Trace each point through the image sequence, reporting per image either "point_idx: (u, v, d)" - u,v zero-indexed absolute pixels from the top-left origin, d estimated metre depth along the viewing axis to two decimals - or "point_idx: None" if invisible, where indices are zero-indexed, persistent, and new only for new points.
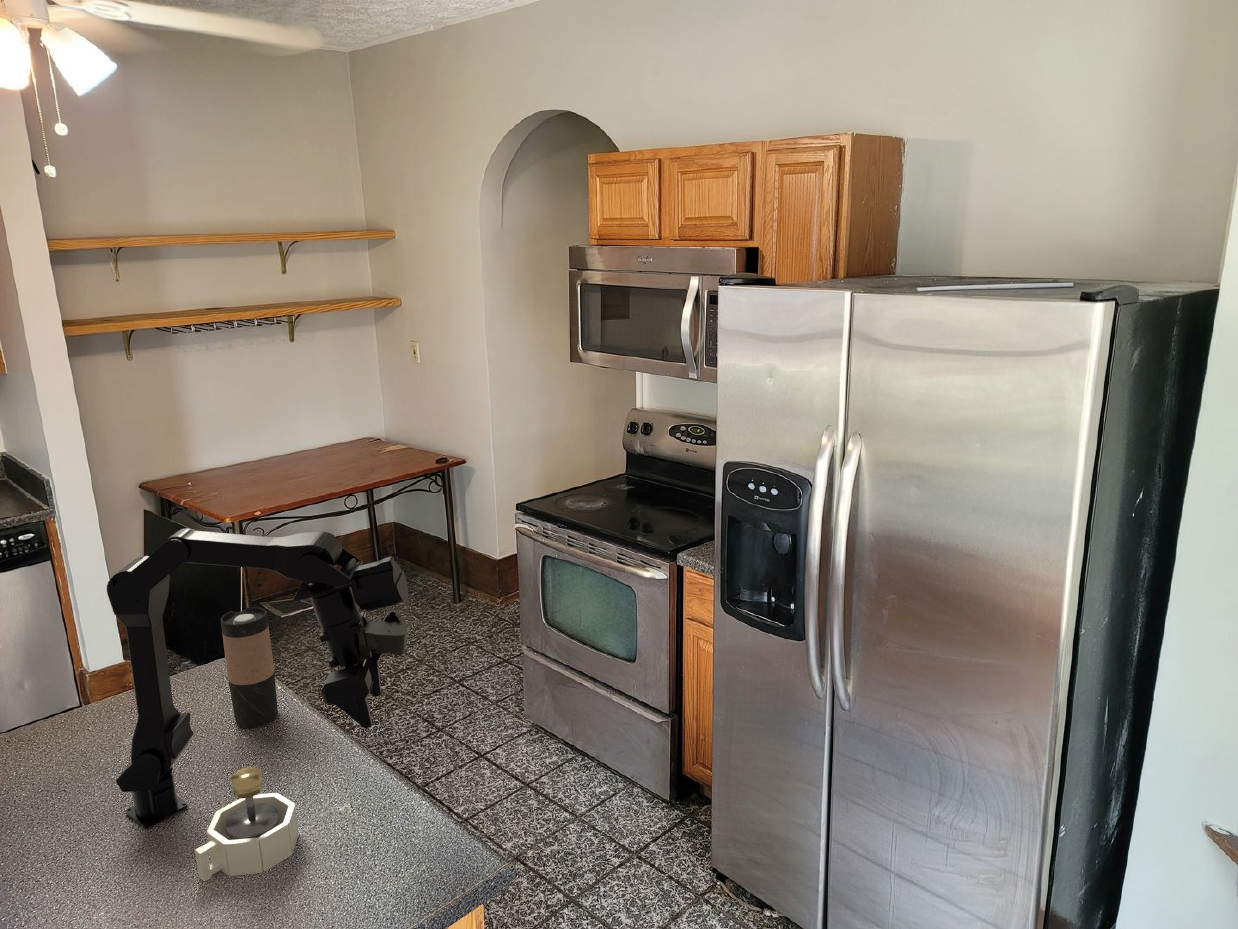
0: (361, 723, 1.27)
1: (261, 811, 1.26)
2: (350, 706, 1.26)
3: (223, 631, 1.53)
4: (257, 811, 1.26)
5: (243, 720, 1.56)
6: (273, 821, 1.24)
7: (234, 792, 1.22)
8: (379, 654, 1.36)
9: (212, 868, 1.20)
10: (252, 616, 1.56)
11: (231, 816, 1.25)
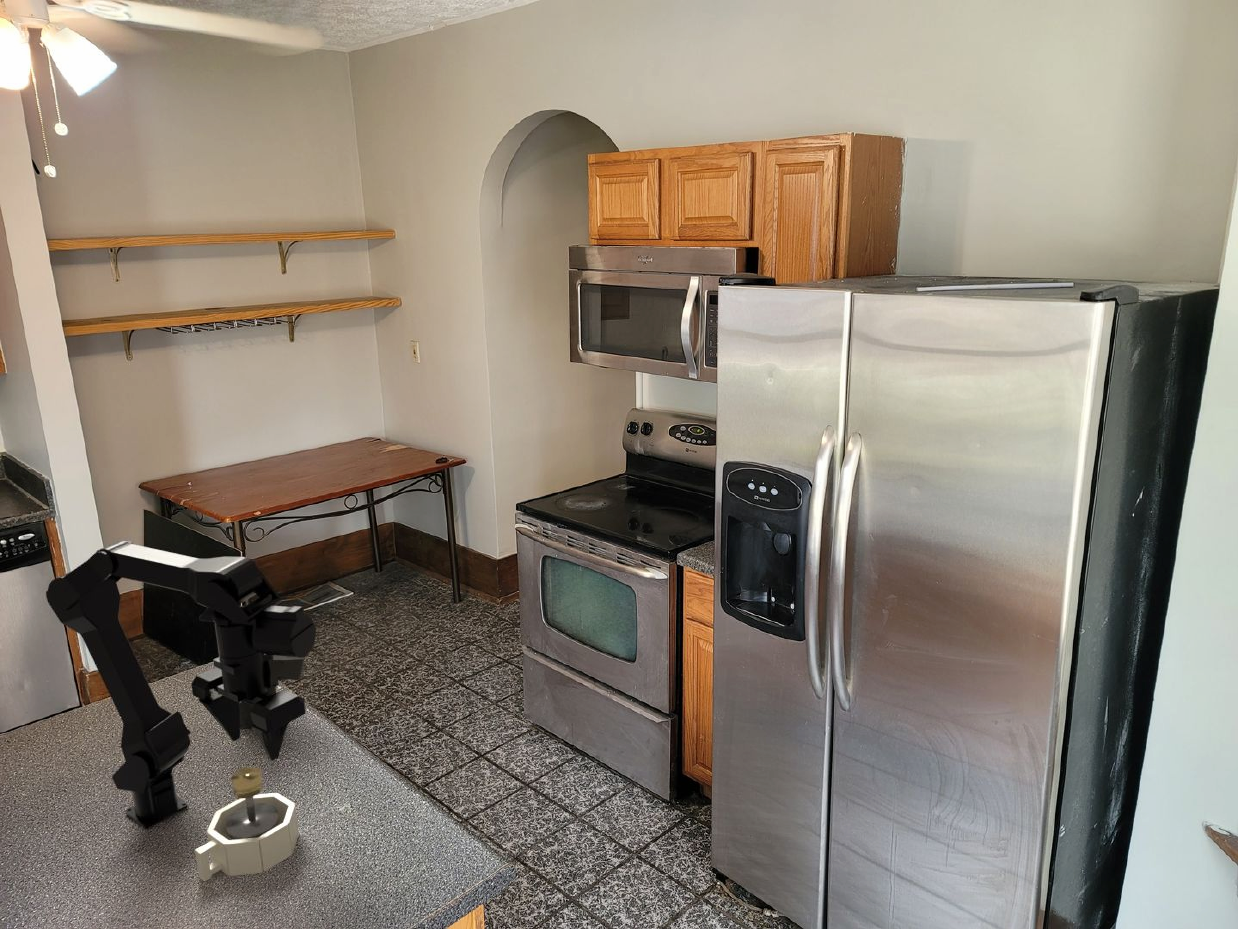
0: (272, 755, 1.23)
1: (261, 811, 1.26)
2: (270, 736, 1.22)
3: None
4: (257, 811, 1.26)
5: (243, 720, 1.56)
6: (273, 821, 1.24)
7: (234, 792, 1.22)
8: None
9: (212, 868, 1.20)
10: None
11: (231, 816, 1.25)
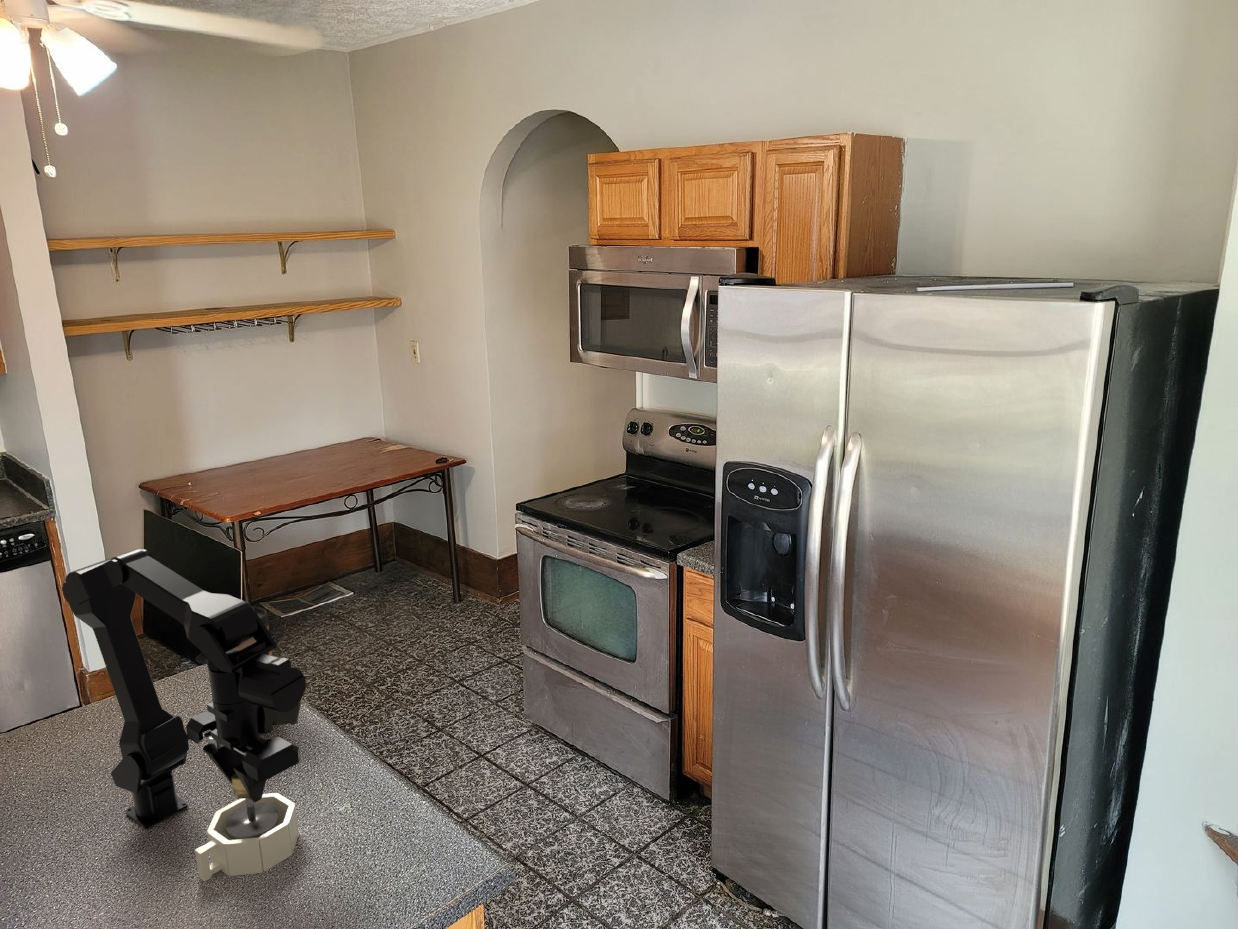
0: (254, 796, 1.22)
1: (261, 812, 1.26)
2: (252, 778, 1.20)
3: None
4: (257, 811, 1.26)
5: None
6: (273, 821, 1.24)
7: (234, 792, 1.22)
8: None
9: (212, 868, 1.20)
10: None
11: (231, 816, 1.25)
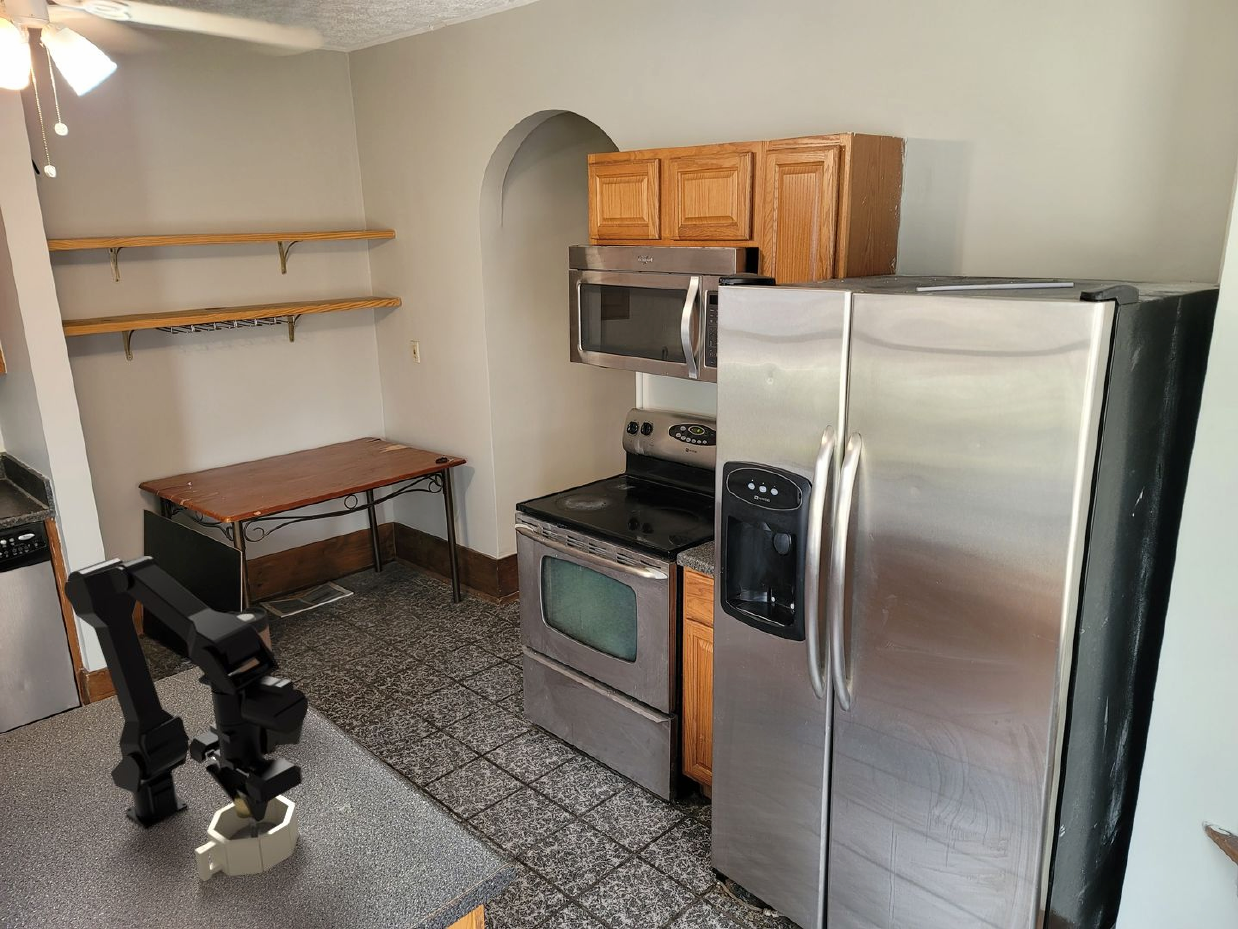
0: (257, 816, 1.22)
1: (263, 831, 1.27)
2: (255, 798, 1.21)
3: None
4: (260, 830, 1.27)
5: None
6: None
7: (237, 812, 1.23)
8: None
9: (212, 868, 1.20)
10: (252, 616, 1.56)
11: (234, 835, 1.26)
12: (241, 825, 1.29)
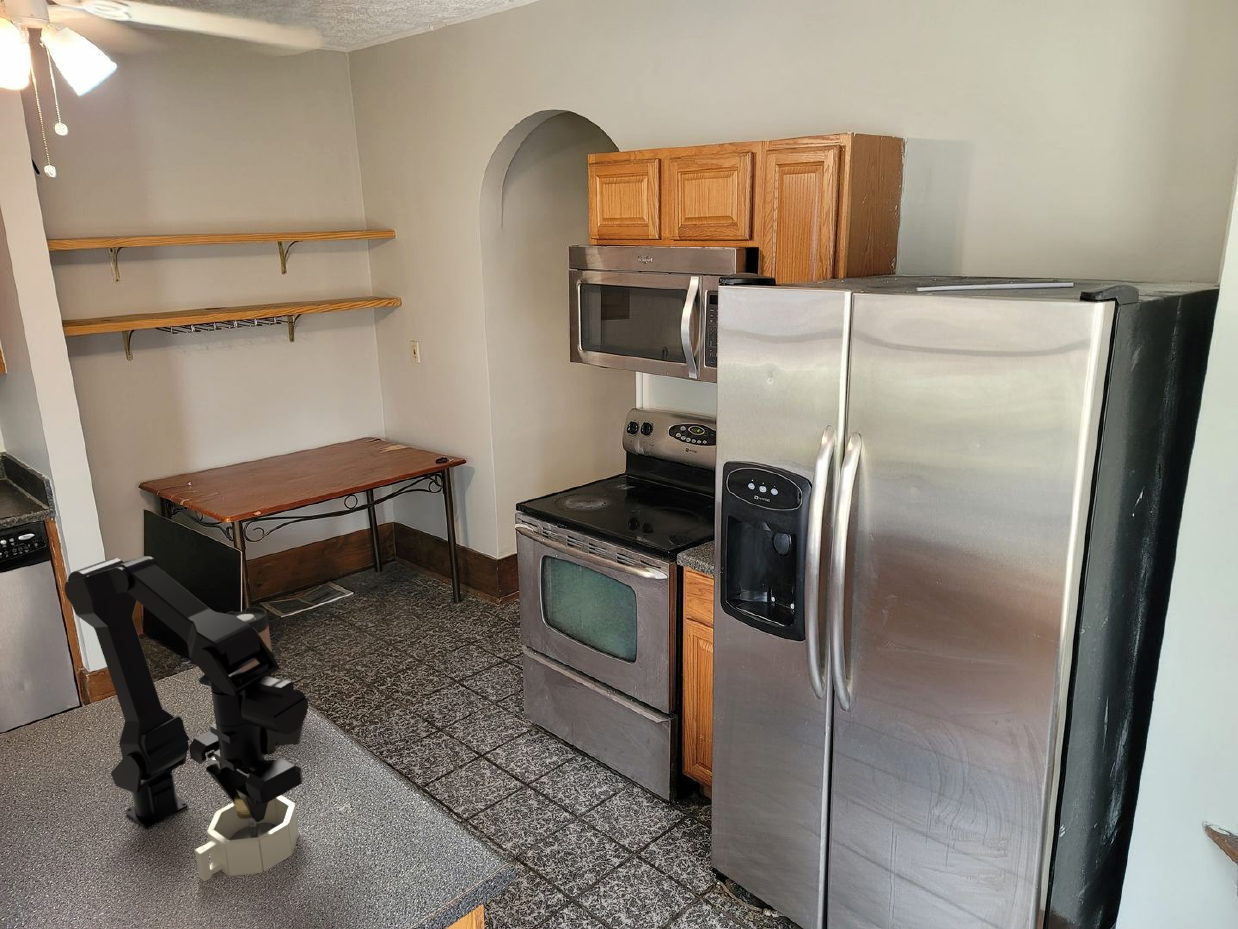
0: (257, 817, 1.22)
1: (263, 831, 1.27)
2: (255, 799, 1.21)
3: None
4: (260, 831, 1.27)
5: None
6: None
7: (237, 812, 1.23)
8: None
9: (212, 868, 1.20)
10: (252, 616, 1.56)
11: (234, 836, 1.26)
12: (241, 825, 1.29)
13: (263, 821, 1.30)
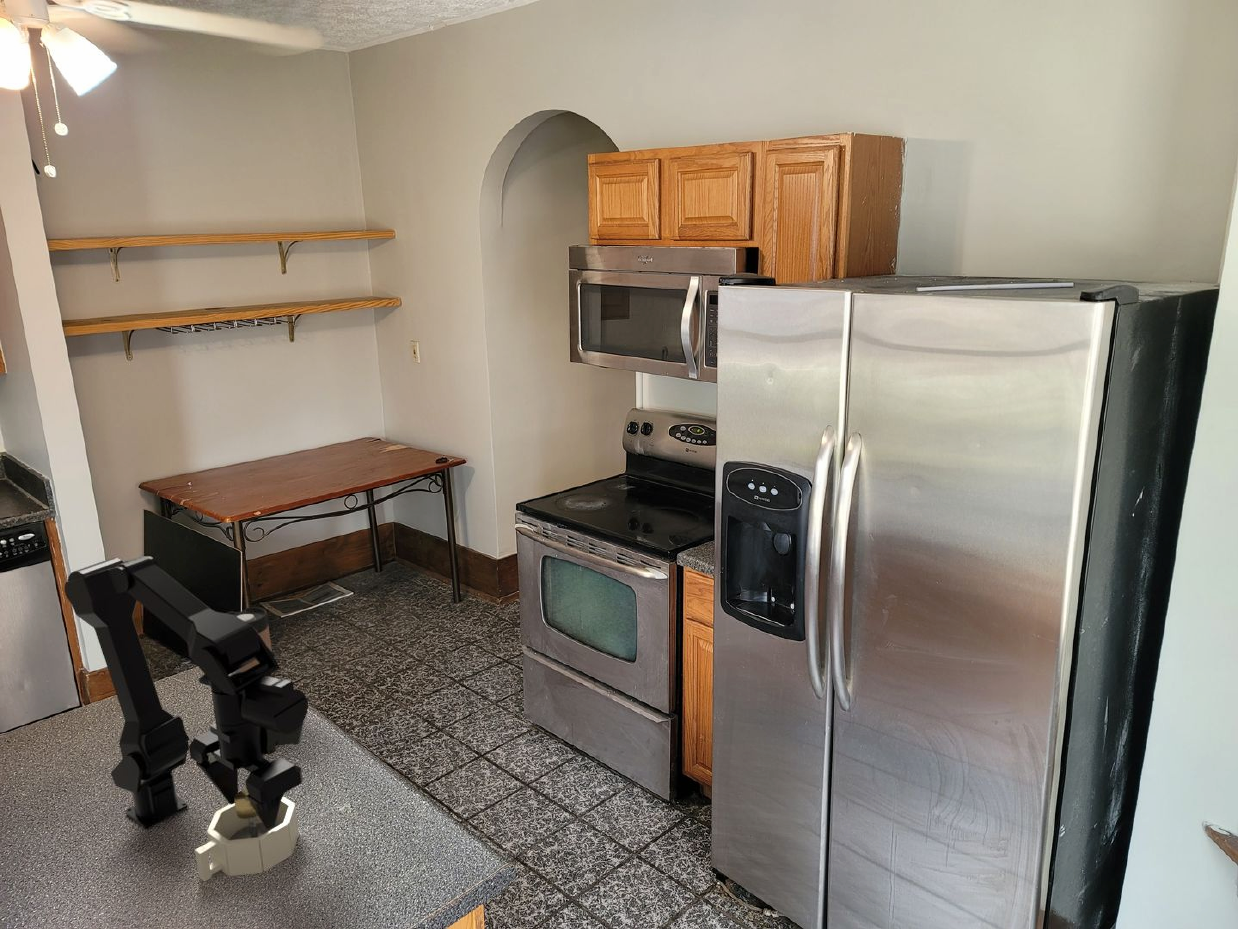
0: (267, 823, 1.21)
1: (263, 831, 1.27)
2: (266, 805, 1.19)
3: None
4: (260, 831, 1.27)
5: None
6: None
7: (237, 812, 1.23)
8: None
9: (212, 868, 1.20)
10: (252, 616, 1.56)
11: (234, 836, 1.26)
12: (241, 825, 1.29)
13: None
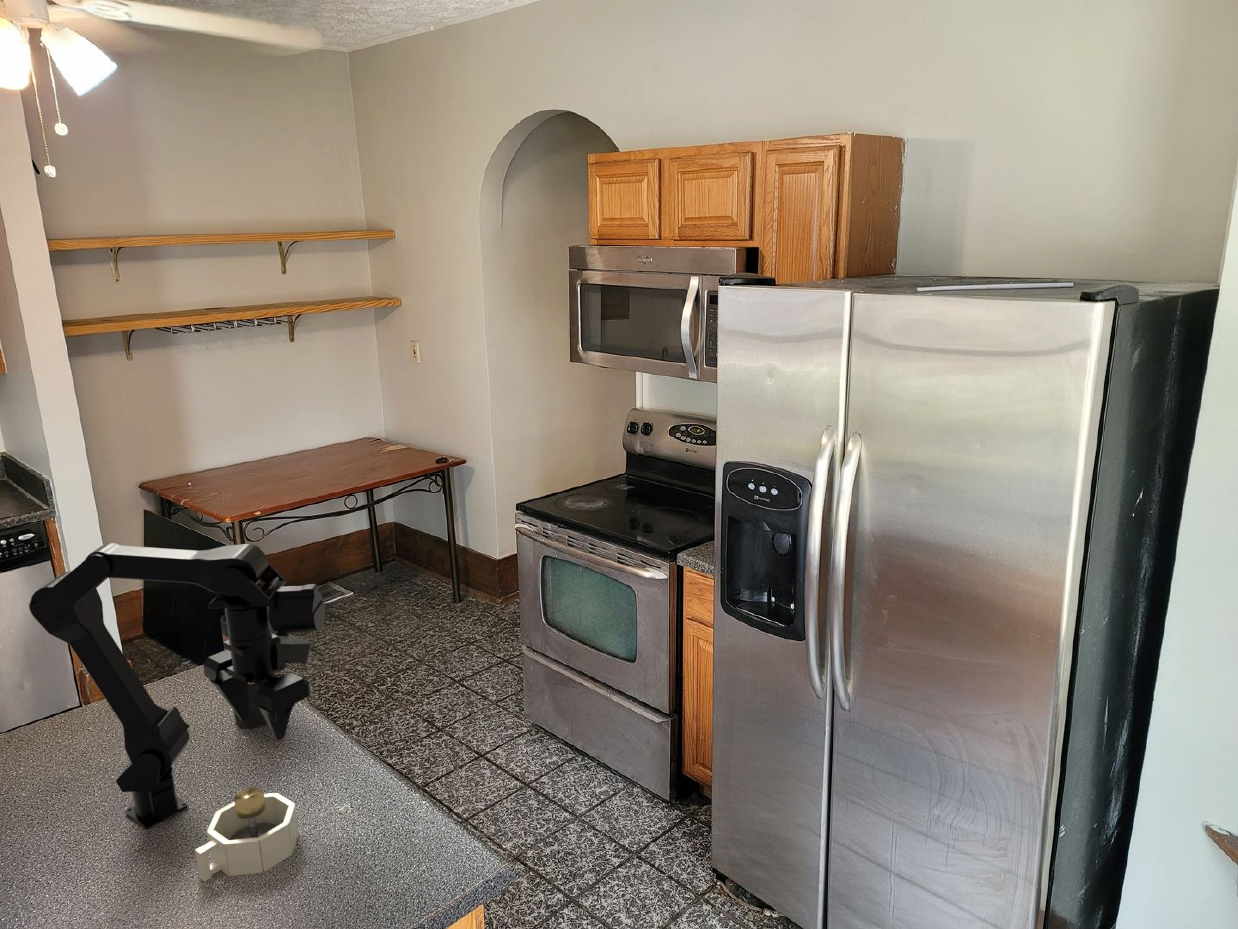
0: (278, 735, 1.29)
1: (263, 831, 1.27)
2: (276, 716, 1.27)
3: (223, 631, 1.53)
4: (260, 831, 1.27)
5: None
6: None
7: (237, 812, 1.23)
8: None
9: (212, 868, 1.20)
10: None
11: (234, 836, 1.26)
12: (241, 825, 1.29)
13: (263, 821, 1.30)
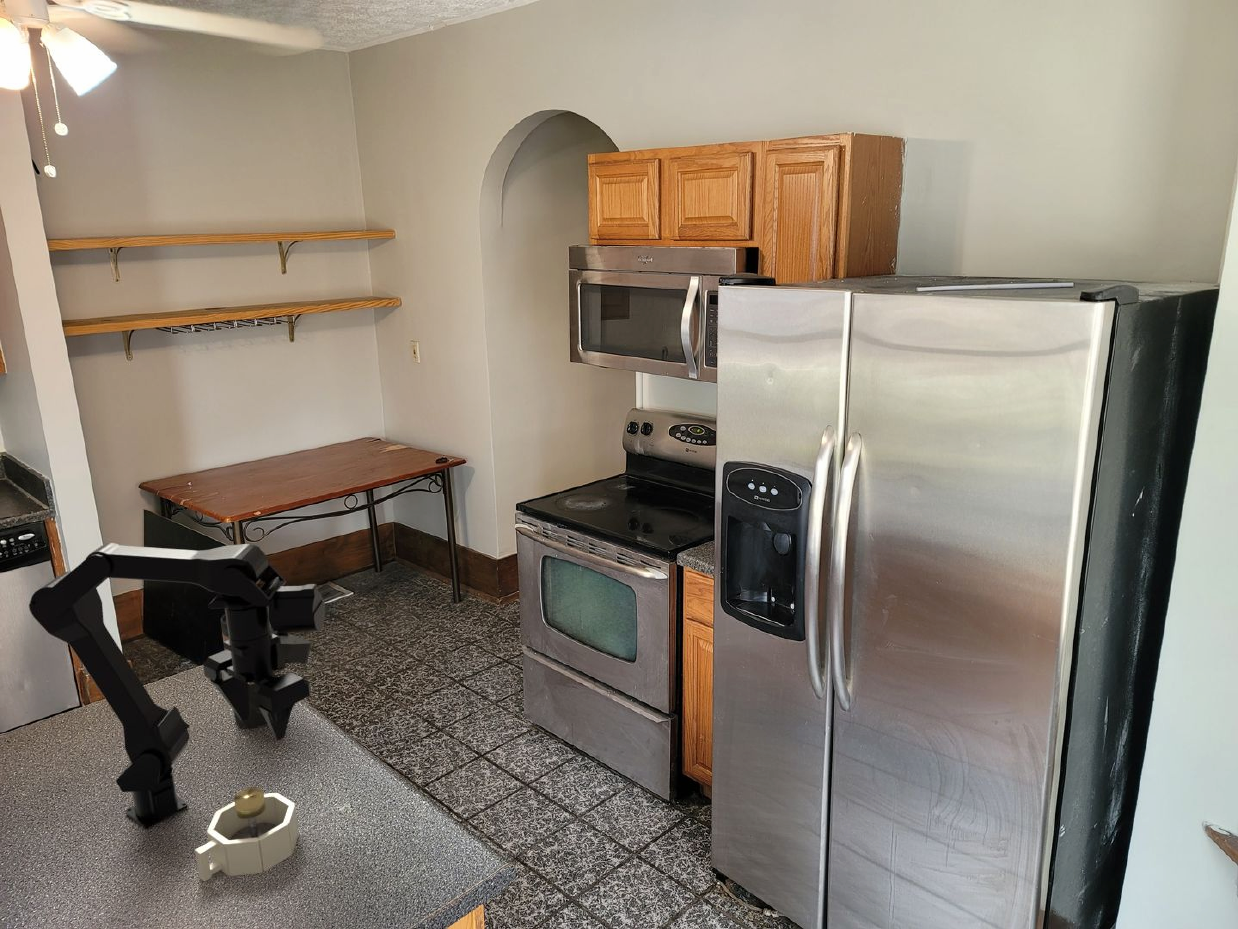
0: (278, 735, 1.29)
1: (263, 831, 1.27)
2: (276, 716, 1.27)
3: (223, 631, 1.53)
4: (260, 831, 1.27)
5: None
6: None
7: (237, 812, 1.23)
8: None
9: (212, 868, 1.20)
10: None
11: (234, 836, 1.26)
12: (241, 825, 1.29)
13: (263, 821, 1.30)
